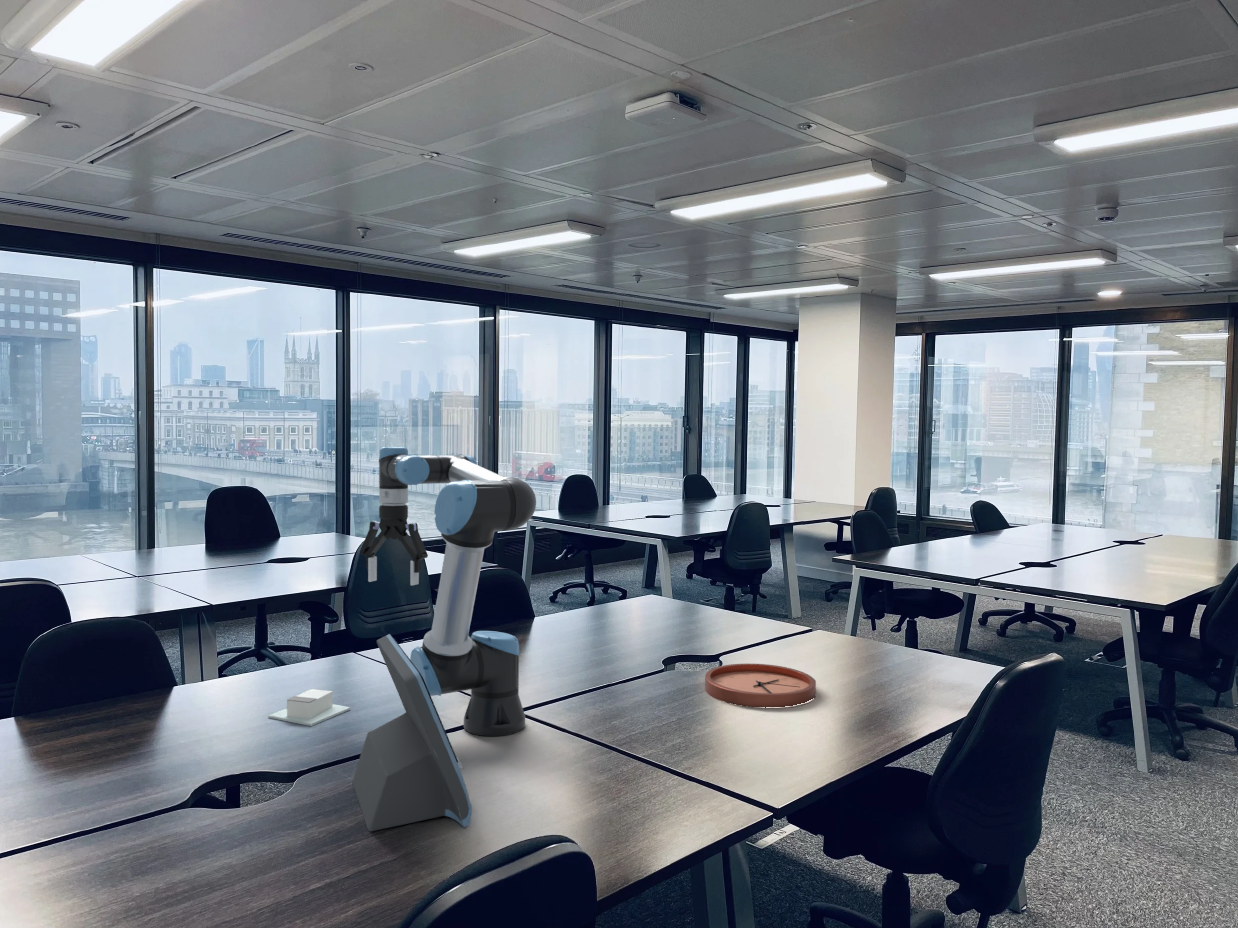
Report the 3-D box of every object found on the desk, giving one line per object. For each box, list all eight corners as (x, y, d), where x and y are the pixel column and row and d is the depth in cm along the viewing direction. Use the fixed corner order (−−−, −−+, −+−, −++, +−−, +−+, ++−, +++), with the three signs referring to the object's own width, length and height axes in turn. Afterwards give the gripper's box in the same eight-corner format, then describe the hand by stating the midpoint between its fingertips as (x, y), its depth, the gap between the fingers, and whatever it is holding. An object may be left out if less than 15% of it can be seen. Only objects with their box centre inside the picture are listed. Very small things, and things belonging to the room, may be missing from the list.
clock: (717, 659, 267) (821, 669, 257) (717, 671, 267) (820, 683, 257) (693, 686, 238) (809, 700, 227) (693, 701, 238) (808, 715, 228)
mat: (350, 709, 225) (350, 707, 225) (311, 725, 212) (311, 723, 212) (308, 701, 230) (308, 699, 230) (268, 717, 217) (268, 715, 217)
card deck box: (310, 703, 227) (310, 688, 226) (332, 706, 225) (332, 690, 225) (286, 715, 217) (287, 699, 217) (309, 718, 215) (309, 701, 215)
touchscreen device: (481, 825, 160) (477, 666, 159) (373, 848, 152) (368, 681, 151) (440, 759, 192) (436, 626, 191) (348, 775, 184) (344, 636, 183)
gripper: (346, 503, 233) (346, 581, 234) (424, 507, 224) (424, 588, 224) (364, 501, 240) (364, 577, 241) (440, 505, 231) (440, 583, 231)
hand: (393, 582), depth 233 cm, fingers open, 13 cm apart
